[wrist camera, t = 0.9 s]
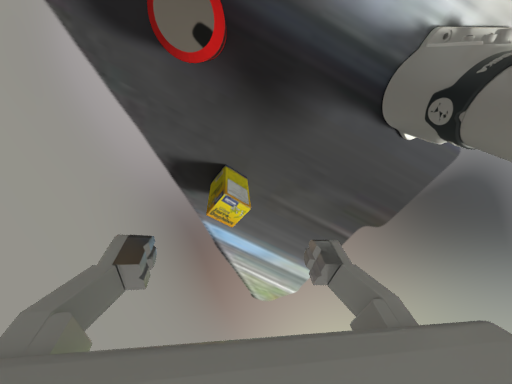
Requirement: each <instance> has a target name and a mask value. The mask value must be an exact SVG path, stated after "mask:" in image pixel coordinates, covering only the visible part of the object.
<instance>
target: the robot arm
mask: <svg viewBox="0 0 512 384" xmlns="http://www.w3.org/2000/svg"><path fill="white" fill-rule="evenodd" d="M443 36H444V38H443ZM382 109H383V115H384V118H385V120H386V122H387V123H388V124H389V125H390V126H391V127H393V128H395V129H397V130H398V131H399V132H400V134H401V136H402V137H403V138H404V139H407V140H411V139H414V138H420V139H423V140H426V141H429V142H432V143H435V144H443V143H446V142H449V143H450V144H453V145H455V146H458V147H463V148H466V149H478V150H481V151H483V152H486V153H488V154H491V155H494V156H497V157H499V158H502V159H505V160H507V161H510V162H512V28H505V27H436V28H435V29H433V30H432V31H431V32H430V34H429V35H428V36H427V37H426V39H425V40H424V42H423V43H422V45H421V46H420V48H419V49H418V50H417V51H416V52H415V53H414V54H413V55H411V56H410V57H409V58H408V59H407V60H406V61H405V62H404V63H403V64H402V65H401V66H400V67H399V68H398V70H397V71H396V72H395V74H394V75H393V77H392V79H391V80H390V82H389V84H388V86H387V89H386V91H385V94H384V98H383V105H382ZM154 242H155V239H154V236H142V235H117V236H116V237H114V239H113V240H112V242H111V244H110V245H109V247H108V248H107V250H106V251H105V253H104V255H103V256H102V258H101V259H100V261H99V263H98V264H97V265H92V266H91V267H90V268H88V269H86V270H85V271H83V272H82V273H80V274H79V275H77V276H76V277H74V278H73V279H71V280H70V281H68V282H67V283H65V284H64V285H62V286H60V287H59V288H58V289H56V290H54V291H53V292H51V293H50V294H48V295H47V296H45V297H44V298H42V299H41V300H39V301H38V302H36V303H35V304H33V305H31V306H30V307H28V308H27V309H26V310H24V311H22V312H21V313H20V314H19V315H18V316H17V317H16V319H15V320H14V321H13V322H12V324H11V325H10V326H9V327H8V328H7V330H6V331H5V332H4V333H3V334H2V336H1V337H0V384H512V334H510V333H509V332H507V331H506V330H504V329H502V328H501V327H499V326H497V325H495V324H494V323H491V322H488V321H468V322H456V323H443V324H430V325H418V323H417V322H416V321H415V319H414V318H413V317H412V315H411V314H410V312H409V311H408V310H407V308H406V307H405V306H404V304H403V303H402V301H401V300H400V298H399V297H398V296H396V295H395V294H394V293H392V292H391V291H390V290H388V289H387V288H386V287H384V286H383V285H382V284H380V283H379V282H378V281H376V280H375V279H374V278H372V277H371V276H370V275H368V274H367V273H366V272H364V271H363V270H362V269H360V268H359V267H358V266H356V265H353V264H352V262H351V261H350V259H349V258H348V256H347V254H346V253H345V251H344V250H343V248H342V246H341V245H340V243H339V242H338V241H337V240H311V241H310V242H309V244H308V245H309V248H307V249H306V251H305V253H304V261H305V265H306V267H307V268H308V269H310V272H309V275H310V278H311V280H312V283H313V285H328V287H329V288H330V289H331V290H332V291H333V292H334V293H335V295H337V297H338V298H339V299H340V300H341V301H342V302H343V303H344V304H345V305H346V306H347V307H348V309H349V310H350V311H351V312H352V313H353V314H354V315H355V316H356V318H355V319H354V320H353V321H352V322H351V324H350V326H351V328H352V330H353V331H342V332H328V333H316V334H303V335H291V336H277V337H265V338H252V339H240V340H227V341H214V342H202V343H189V344H176V345H163V346H151V347H138V348H127V349H113V350H101V351H89V350H90V348H91V346H92V342H91V340H90V339H89V337H88V336H87V335H86V333H85V332H84V331H85V330H86V329H87V328H88V327H89V326H90V325H91V324H92V323H93V322H94V321H95V320H96V319H97V318H98V317H99V316H100V315H101V314H102V313H103V312H105V311H106V310H107V309H108V307H110V305H112V303H114V302H115V300H117V299H118V298H119V297H120V296H121V295H122V294H123V293H124V292H125V290H139V289H146V287H147V284H148V281H149V278H150V271H149V270H151V269H152V268H153V267H154V264H155V260H156V247H155V246H154Z"/></svg>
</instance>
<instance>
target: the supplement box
mask: <svg viewBox="0 0 512 384" xmlns="http://www.w3.org/2000/svg"><path fill="white" fill-rule="evenodd" d="M250 209H251V204H250V197H249V190H248V183H247V178H246V177H245V176H243V175H242V174H240V173H239V172H237V171H235V170H234V169H232V168H230V167H229V166H227V165H225V166H224V167H223V168H222V170H221V171H220V172H219V173H218V175H217V176H216V177H215V179H214V180H213V181H212V182H211V186H210V193H209V200H208V206H207V214H206V215H207V216H210V217H212V218H214V219H216V220H218V221H220V222H222V223H224V224H226V225H228V226H230V227H233V226H234V225H235V224H236V223H237V222H238V221H239V220H240V219H241V218H242V217H243V216H244V215H245V214H246V213H247V212H248V211H249V210H250Z"/></svg>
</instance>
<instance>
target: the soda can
mask: <svg viewBox="0 0 512 384" xmlns="http://www.w3.org/2000/svg"><path fill="white" fill-rule="evenodd" d="M147 7H148V15H149V20H150V23H151V26H152V29H153V31H154V33H155V35H156V37H157V39H158V40H159V42H160V43H161V44H162V46H163V47H164V48H165V49H166V50H167V51H168V52H169V53H170V54H172V55H173V56H174V57H176V58H178V59H180V60H182V61H185V62H189V63H199V62H204V61H209V60H212V59H214V58H216V57H217V56H218V55H219V54H220V53H221V52H222V50H223V48H224V46H225V42H226V36H227V30H226V23H225V18H224V13H223V8H222V4H221V1H220V0H147Z"/></svg>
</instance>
